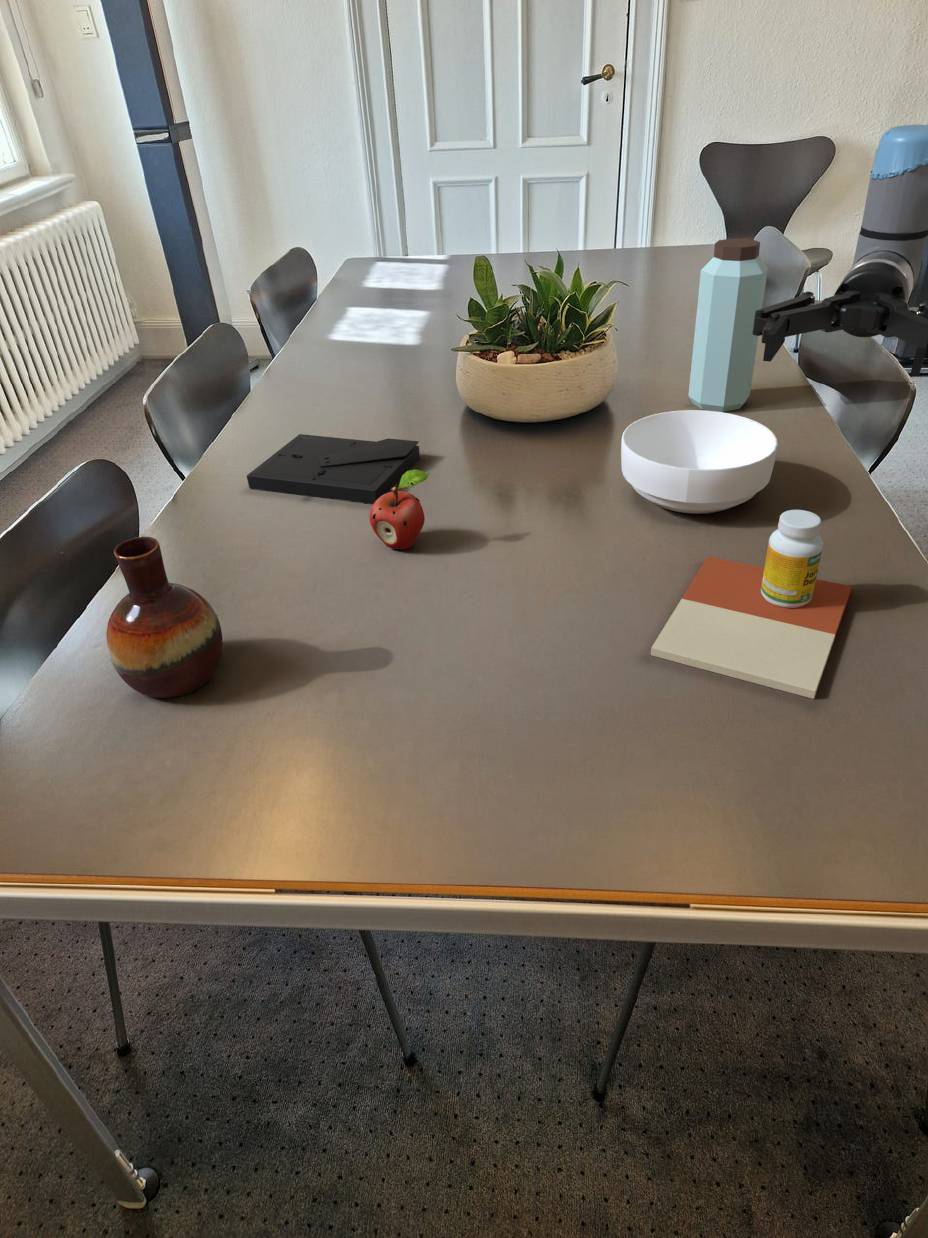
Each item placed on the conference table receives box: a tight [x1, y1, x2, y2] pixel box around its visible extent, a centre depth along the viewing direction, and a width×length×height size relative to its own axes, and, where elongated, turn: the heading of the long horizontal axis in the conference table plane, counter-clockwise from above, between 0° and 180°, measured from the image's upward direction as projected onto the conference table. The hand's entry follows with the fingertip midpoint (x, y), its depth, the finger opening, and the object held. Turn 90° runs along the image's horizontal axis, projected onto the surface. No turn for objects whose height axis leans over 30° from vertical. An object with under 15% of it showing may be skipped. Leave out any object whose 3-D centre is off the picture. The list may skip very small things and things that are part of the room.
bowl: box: [620, 409, 779, 515], centre depth 113 cm, size 20×20×8 cm
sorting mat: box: [650, 555, 853, 700], centre depth 90 cm, size 16×20×1 cm
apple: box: [368, 468, 430, 550], centre depth 106 cm, size 8×7×10 cm
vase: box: [105, 536, 224, 699], centre depth 84 cm, size 11×11×15 cm
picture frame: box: [246, 433, 421, 505], centre depth 127 cm, size 16×3×21 cm
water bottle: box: [688, 237, 769, 413], centre depth 135 cm, size 10×10×25 cm
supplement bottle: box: [761, 509, 824, 608], centre depth 90 cm, size 5×5×10 cm
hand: (840, 354), depth 82 cm, fingers open, 13 cm apart
